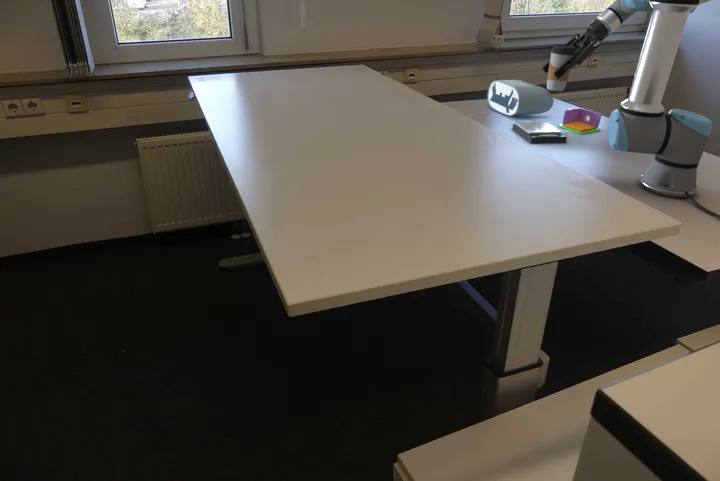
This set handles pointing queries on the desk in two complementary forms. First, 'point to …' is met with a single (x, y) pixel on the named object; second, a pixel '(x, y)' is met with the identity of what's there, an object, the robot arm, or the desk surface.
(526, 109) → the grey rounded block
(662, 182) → the robot arm
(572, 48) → the coffee cup
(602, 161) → the desk surface
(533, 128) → the scale
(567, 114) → the toy room diorama
